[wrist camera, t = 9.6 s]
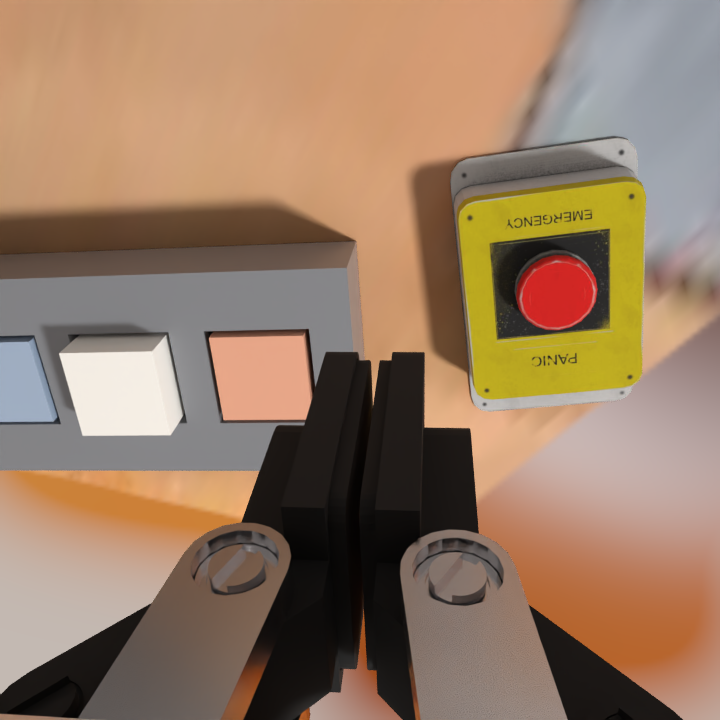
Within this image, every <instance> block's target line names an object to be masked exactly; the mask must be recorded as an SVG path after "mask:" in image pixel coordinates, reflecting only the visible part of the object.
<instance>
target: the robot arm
mask: <svg viewBox="0 0 720 720" xmlns="http://www.w3.org/2000/svg"><path fill="white" fill-rule="evenodd" d="M424 374H425V354H424V352H393V353H392V361H384V360H380V363H379V370H378V377H377V384H376V391H375V398H374V405H373V400H372V375H371V361H370V360H359V354H358V352H326V353H325V356H324V359H323V363H322V366H321V369H320V373H319V376H318V380H317V383H316V387H315V390H314V393H313V397H312V400H311V404H310V407H309V411H308V414H307V417H306V421H305V424H304V425H278V426H276V428H275V430H274V432H273V435H272V438H271V441H270V443H269V446H268V449H267V452H266V455H265V458H264V460H263V463H262V466H261V469H260V472H259V474H258V477H257V480H256V483H255V486H254V489H253V491H252V494H251V497H250V500H249V503H248V505H247V508H246V511H245V514H244V517H243V519H242V522H241V523H236V524H230V525H225V526H221V527H219V528H217V529H214V530H212V531H209V532H207V533H206V534H204V535H203V536H201V537H200V538H198V539H197V540H195V541H194V542H193V543H192V545H191V546H190V547H189V548H188V549H187V550H186V551H185V552H184V554H183V555H182V557H181V559H180V560H179V562H178V563H177V565H176V566H175V568H174V569H173V571H172V573H171V574H170V576H169V577H168V579H167V580H166V582H165V584H164V585H163V587H162V588H161V590H160V591H159V593H158V594H157V596H156V598H155V599H154V601H153V602H152V603H151V604H149V605H148V606H146V607H144V608H142V609H140V610H139V611H137V612H135V613H133V614H132V615H130V616H128V617H126V618H124V619H123V620H121V621H119V622H117V623H116V624H114V625H112V626H110V627H109V628H107V629H105V630H103V631H101V632H100V633H98V634H96V635H94V636H92V637H91V638H89V639H87V640H85V641H84V642H82V643H80V644H78V645H77V646H75V647H73V648H71V649H69V650H68V651H66V652H64V653H63V654H61V655H59V656H57V657H55V658H54V659H52V660H50V661H48V662H46V663H45V664H43V665H41V666H39V667H37V668H36V669H34V670H32V671H30V672H29V673H27V674H26V675H24V676H23V677H21V678H20V679H18V680H17V681H16V682H14V683H13V684H11V685H10V686H9V687H8V688H7V689H6V690H5V691H4V692H3V693H2V694H0V720H310V707H311V706H312V705H313V704H315V703H316V702H317V701H319V700H320V699H321V698H323V697H324V696H325V695H327V694H328V693H329V692H341V684H342V677H343V669H356V668H357V662H358V654H359V645H360V636H361V628H362V619H363V610H364V619H365V637H366V655H367V669H368V670H377V690H378V694H379V695H380V696H381V698H382V699H384V700H385V702H387V704H388V705H389V706H390V707H391V708H392V709H393V710H394V711H395V712H396V713H397V714H398V715H399V716H400V717H401V718H402V719H403V720H683V719H682V718H680V717H679V716H678V715H677V714H676V713H675V712H674V711H673V710H671V709H670V708H669V707H667V706H666V705H665V704H663V703H662V702H660V701H659V700H658V699H656V698H655V697H654V696H652V695H651V694H650V693H648V692H647V691H646V690H644V689H643V688H641V687H640V686H639V685H637V684H636V683H635V682H633V681H632V680H631V679H629V678H628V677H627V676H625V675H624V674H622V673H621V672H620V671H618V670H617V669H616V668H614V667H613V666H612V665H610V664H609V663H607V662H606V661H604V660H603V659H602V658H601V657H599V656H598V655H597V654H595V653H594V652H592V651H591V650H590V649H588V648H587V647H586V646H584V645H583V644H582V643H580V642H579V641H578V640H576V639H575V638H573V637H572V636H570V635H569V634H568V633H567V632H565V631H564V630H563V629H561V628H560V627H558V626H557V625H556V624H554V623H553V622H552V621H550V620H549V619H548V618H546V617H545V616H543V615H542V614H541V613H539V612H538V611H537V610H535V609H534V608H532V607H531V606H530V605H529V604H528V602H527V599H526V596H525V594H524V591H523V587H522V584H521V581H520V579H519V576H518V573H517V570H516V567H515V565H514V563H513V561H512V559H511V557H510V556H509V554H508V552H506V551H505V550H504V549H503V548H502V547H501V546H500V545H499V544H498V543H497V542H495V541H493V540H491V539H489V538H487V537H485V536H483V535H481V534H479V531H478V518H477V506H476V493H475V481H474V468H473V456H472V443H471V432H470V428H424Z"/></svg>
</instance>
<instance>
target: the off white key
mask: <svg viewBox="0 0 720 720" xmlns="http://www.w3.org/2000/svg"><path fill="white" fill-rule="evenodd" d="M59 355H60V359H61V362H62V366H63V369H64V373H65V376H66V380H67V383H68V387H69V390H70V394H71V397H72V400H73V404H74V407H75V411H76V414H77V418H78V421H79V425H80V428H81V432H82V435H83V436H138V435H171V434H172V433H173V431H174V429H175V428H176V426H177V425H178V423H179V421H180V420H181V418H182V417H183V415H184V414H185V410H184V405H183V401H182V396H181V391H180V386H179V381H178V376H177V372H176V367H175V362H174V357H173V352H172V348H171V343H170V338H169V333H168V332H153V333H110V334H80V335H79V336H78V337H77V338H75V339H74V340H73V341H72V342H71V343H70V344H69V345H68V346H66V347H65V348H64V349H63V350H62V351H61V352H60V353H59Z"/></svg>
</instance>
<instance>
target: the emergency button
mask: <svg viewBox="0 0 720 720" xmlns="http://www.w3.org/2000/svg"><path fill="white" fill-rule="evenodd" d="M637 164H638V158H637V153H636V149H635V147H634V146H633V145H632V144H631V142H630V141H629V140H628V139H624V138H618V137H616V138H609V139H602V140H595V141H588V142H581V143H573V144H566V145H559V146H552V147H545V148H538V149H531V150H524V151H517V152H510V153H503V154H495V155H488V156H481V157H474V158H467V159H465V160H463V161H460V162H458V163H457V165H456V166H455V168H454V169H453V170H452V173H451V181H450V185H451V195H452V205H453V215H454V226H455V236H456V246H457V256H458V266H459V276H460V286H461V296H462V306H463V316H464V327H465V337H466V347H467V357H468V367H469V377H470V387H471V397H472V400H473V402H474V405H475V406H477V407H478V408H479V409H480V410H483V411H501V410H513V409H525V408H537V407H549V406H561V405H573V404H585V403H598V402H610V401H618V400H620V399H624V398H625V397H626V396H627V395H628V394H629V393H630V392H631V391H632V387H633V385H635V384H636V383H637V382H638V381H639V380H640V377H641V375H642V350H643V307H644V264H645V221H646V194H645V191H644V188H643V185H642V183H641V182H640V181H639V180H638V179H637Z"/></svg>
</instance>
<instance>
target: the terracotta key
mask: <svg viewBox="0 0 720 720" xmlns="http://www.w3.org/2000/svg"><path fill="white" fill-rule="evenodd" d="M209 342H210V347H211V353H212V358H213V364H214V369H215V375H216V380H217V386H218V392H219V397H220V403H221V408H222V414H223V419H224V420H306V417H307V414H308V411H309V407H310V404H311V400H312V397H313V393H314V390H315V380H314V370H313V361H312V352H311V343H310V334H309V329H282V330H239V331H213V333H212V334H211V335H210V337H209Z"/></svg>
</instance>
